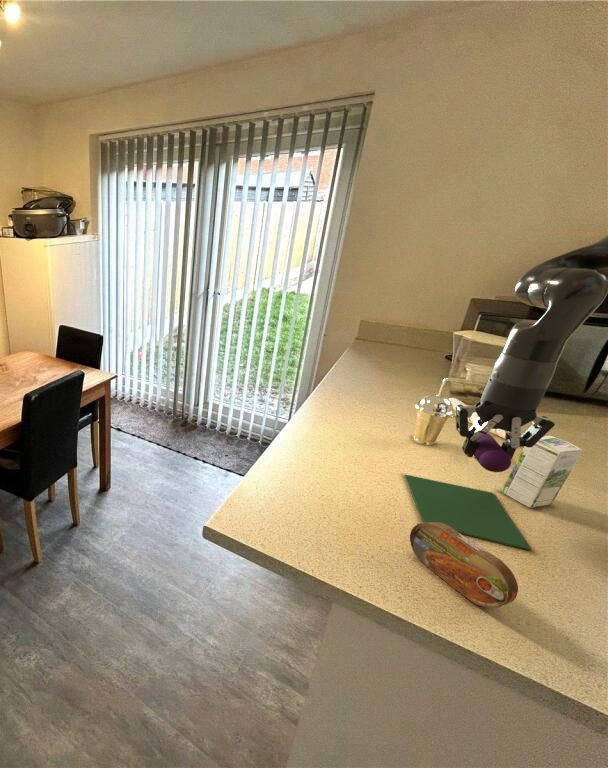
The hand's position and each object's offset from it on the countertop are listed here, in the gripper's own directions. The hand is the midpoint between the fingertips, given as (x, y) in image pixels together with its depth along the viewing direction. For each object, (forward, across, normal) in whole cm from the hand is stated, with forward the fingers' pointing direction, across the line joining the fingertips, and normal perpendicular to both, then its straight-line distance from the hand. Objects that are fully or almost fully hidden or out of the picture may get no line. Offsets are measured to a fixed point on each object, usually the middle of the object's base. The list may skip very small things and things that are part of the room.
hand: (483, 457), depth 78 cm
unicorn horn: (+13, -17, -47) cm, 52 cm away
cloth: (+13, 0, 0) cm, 13 cm away
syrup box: (+13, -14, -10) cm, 22 cm away
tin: (+13, +7, +22) cm, 27 cm away
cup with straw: (+13, 0, -30) cm, 33 cm away
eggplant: (+1, 0, 0) cm, 1 cm away
